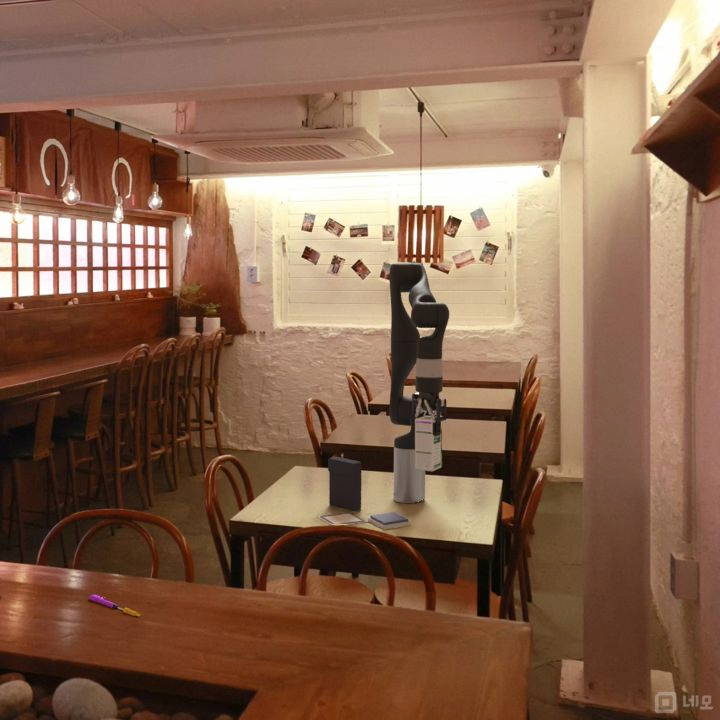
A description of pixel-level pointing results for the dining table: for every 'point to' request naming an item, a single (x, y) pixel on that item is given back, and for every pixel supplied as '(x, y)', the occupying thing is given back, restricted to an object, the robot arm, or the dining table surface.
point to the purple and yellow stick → (112, 605)
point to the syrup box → (427, 445)
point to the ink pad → (389, 520)
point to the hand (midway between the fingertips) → (428, 433)
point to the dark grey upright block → (344, 483)
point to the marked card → (342, 518)
